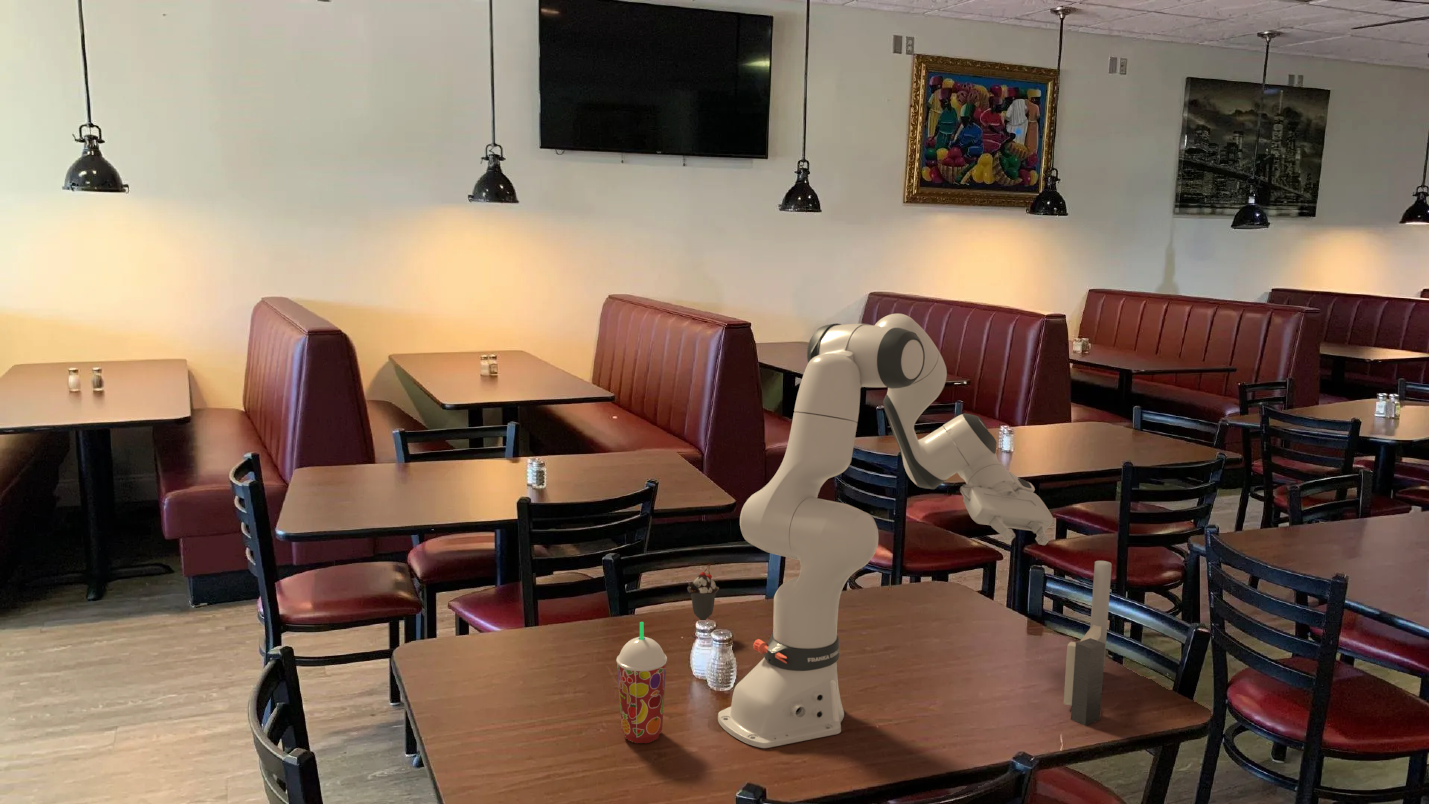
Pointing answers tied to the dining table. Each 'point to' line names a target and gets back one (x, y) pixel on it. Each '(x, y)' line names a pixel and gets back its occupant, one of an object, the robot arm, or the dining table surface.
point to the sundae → (703, 595)
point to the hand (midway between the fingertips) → (1027, 540)
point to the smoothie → (641, 688)
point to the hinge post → (1087, 681)
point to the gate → (1097, 621)
